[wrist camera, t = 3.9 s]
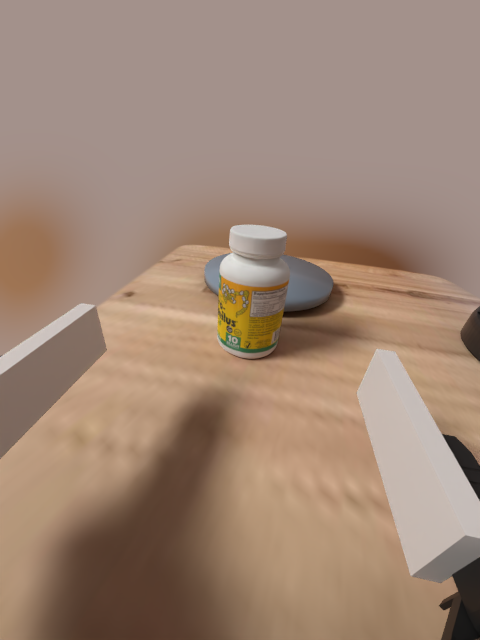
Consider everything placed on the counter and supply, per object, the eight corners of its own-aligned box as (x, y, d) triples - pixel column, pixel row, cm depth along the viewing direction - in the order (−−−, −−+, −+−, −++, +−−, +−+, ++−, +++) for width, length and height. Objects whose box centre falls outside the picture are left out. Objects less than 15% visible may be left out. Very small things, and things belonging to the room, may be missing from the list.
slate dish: (305, 266, 41) (308, 254, 40) (352, 318, 28) (358, 302, 27) (205, 262, 39) (205, 249, 38) (202, 316, 26) (202, 299, 25)
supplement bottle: (287, 354, 22) (313, 240, 17) (227, 366, 20) (236, 242, 15) (261, 321, 26) (275, 222, 21) (209, 328, 24) (211, 222, 19)
